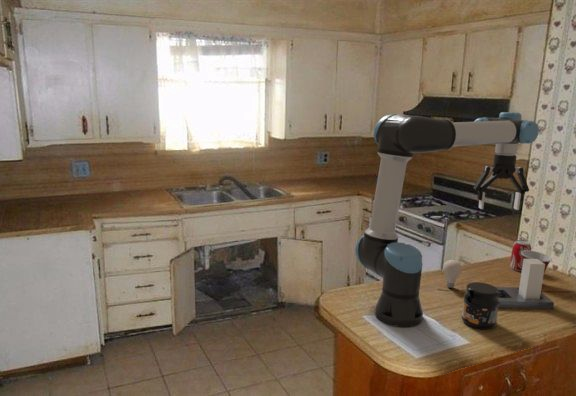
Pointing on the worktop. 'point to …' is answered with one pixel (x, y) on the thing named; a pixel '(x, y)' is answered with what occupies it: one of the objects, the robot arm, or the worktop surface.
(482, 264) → the worktop surface
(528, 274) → the square post
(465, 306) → the supplement container
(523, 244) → the soda can
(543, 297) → the rail plate
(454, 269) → the light bulb
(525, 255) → the plastic cup
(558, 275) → the worktop surface
